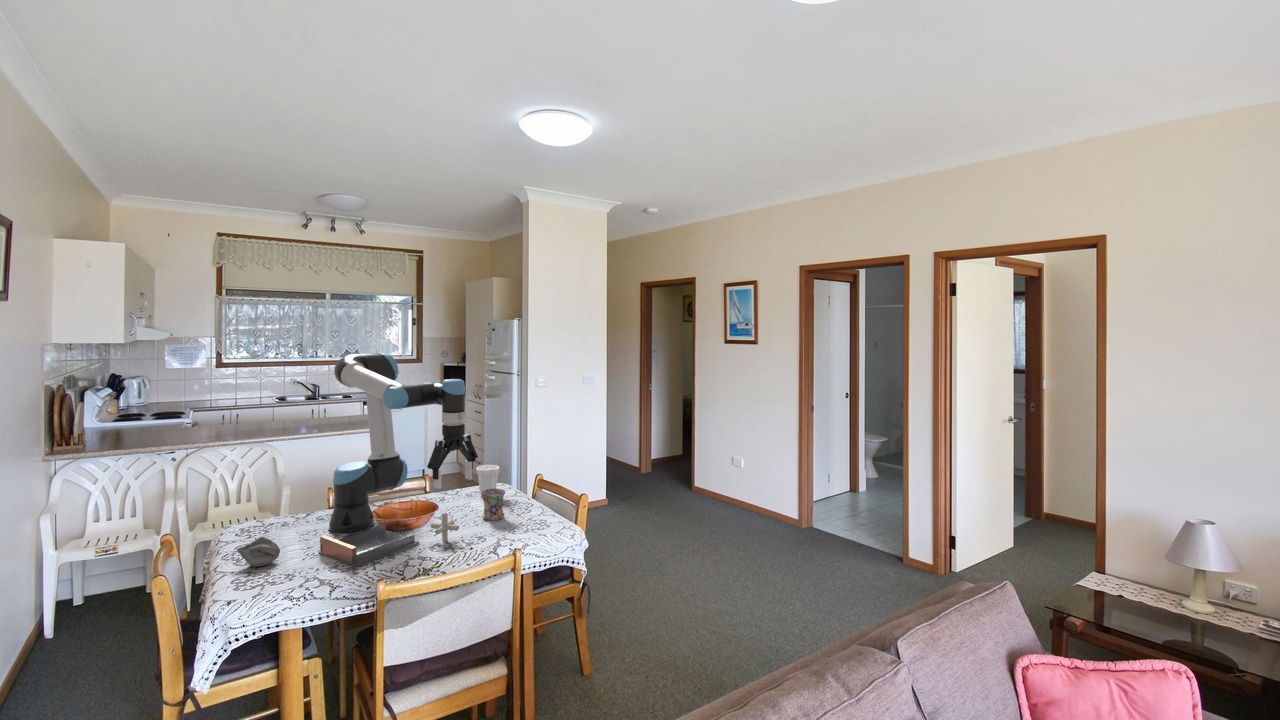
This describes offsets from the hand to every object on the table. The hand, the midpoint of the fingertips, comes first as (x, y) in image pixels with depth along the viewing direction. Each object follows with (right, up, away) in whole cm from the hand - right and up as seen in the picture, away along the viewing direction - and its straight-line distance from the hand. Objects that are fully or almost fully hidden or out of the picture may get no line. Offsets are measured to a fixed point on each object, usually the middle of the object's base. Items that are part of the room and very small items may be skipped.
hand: (453, 483), depth 206 cm
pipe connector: (-4, -21, +2) cm, 21 cm away
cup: (-2, -17, +54) cm, 57 cm away
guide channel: (-27, -21, -6) cm, 34 cm away
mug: (+6, -19, +28) cm, 34 cm away
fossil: (-55, -22, -20) cm, 63 cm away
